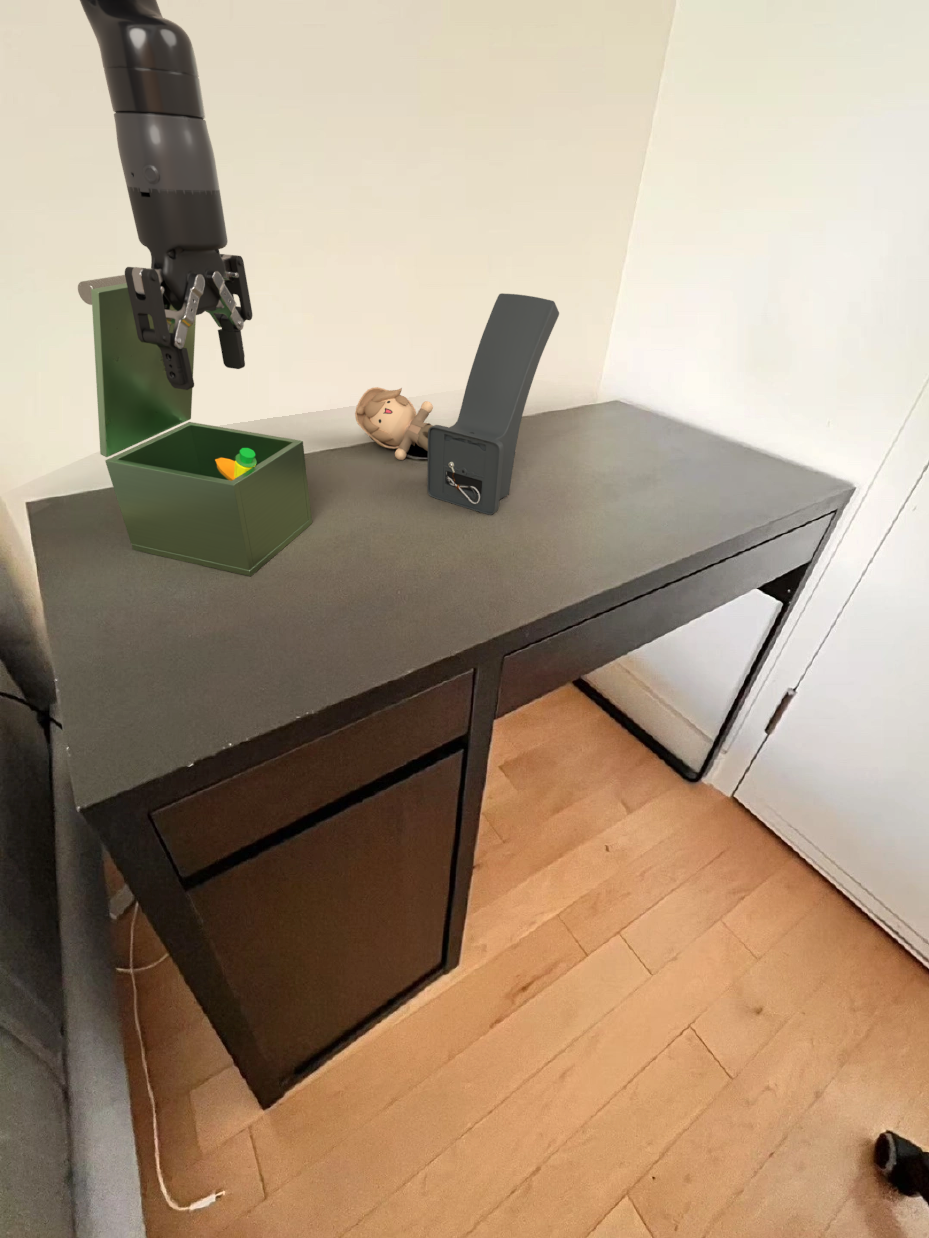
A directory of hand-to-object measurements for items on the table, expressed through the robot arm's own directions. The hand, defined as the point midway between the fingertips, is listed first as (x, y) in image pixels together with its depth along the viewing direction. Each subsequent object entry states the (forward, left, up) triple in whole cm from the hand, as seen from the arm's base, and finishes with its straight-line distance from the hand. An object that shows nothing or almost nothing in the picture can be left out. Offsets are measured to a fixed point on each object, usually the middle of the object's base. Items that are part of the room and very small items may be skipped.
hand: (210, 377), depth 63 cm
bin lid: (0, +7, 0) cm, 7 cm away
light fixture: (+27, -24, -19) cm, 41 cm away
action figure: (+34, -8, -19) cm, 40 cm away
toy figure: (-1, 0, -18) cm, 18 cm away
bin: (0, +2, -19) cm, 19 cm away
